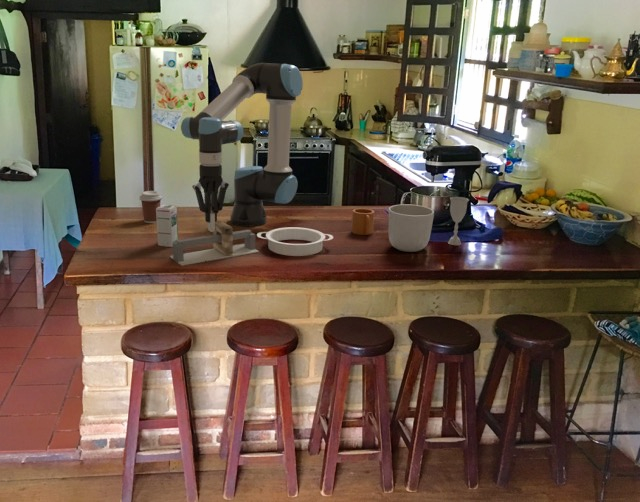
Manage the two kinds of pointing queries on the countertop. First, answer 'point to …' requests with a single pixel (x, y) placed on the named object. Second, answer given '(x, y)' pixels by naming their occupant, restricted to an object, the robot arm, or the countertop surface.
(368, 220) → the mug
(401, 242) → the planter
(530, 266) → the countertop surface
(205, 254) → the rail
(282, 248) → the pot
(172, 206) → the syrup box
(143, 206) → the coffee cup
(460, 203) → the chalice
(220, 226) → the tan flat block
